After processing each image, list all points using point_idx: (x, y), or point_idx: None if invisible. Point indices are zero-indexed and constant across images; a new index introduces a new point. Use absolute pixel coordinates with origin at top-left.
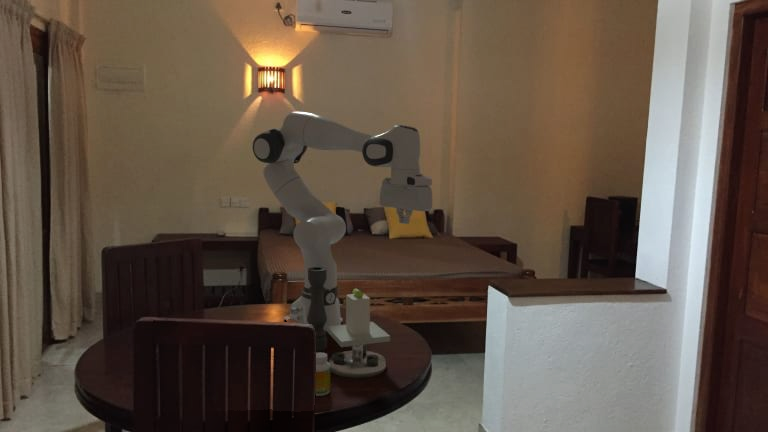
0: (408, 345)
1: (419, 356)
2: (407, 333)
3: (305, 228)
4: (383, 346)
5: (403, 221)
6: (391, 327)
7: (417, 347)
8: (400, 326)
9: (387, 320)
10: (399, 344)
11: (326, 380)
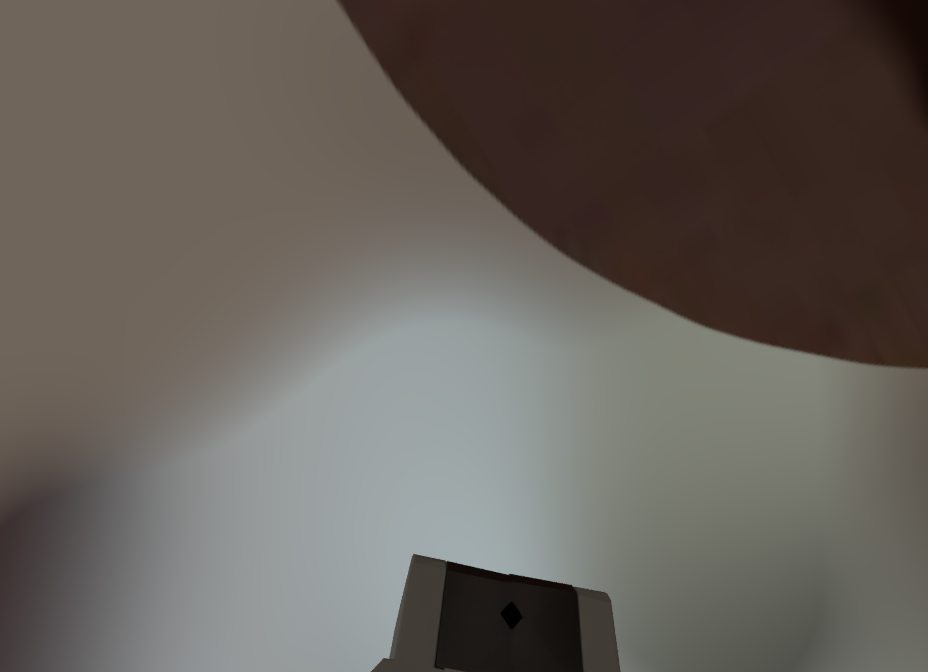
0: (496, 108)
1: (372, 10)
2: (587, 243)
3: None
4: (587, 13)
5: (466, 593)
6: (692, 268)
7: (449, 112)
8: (662, 302)
9: (755, 336)
10: (538, 92)
11: None
